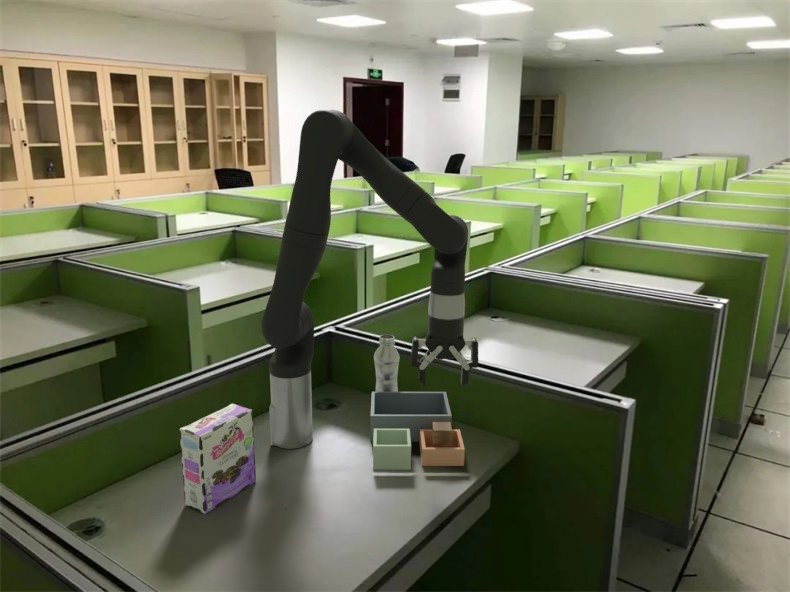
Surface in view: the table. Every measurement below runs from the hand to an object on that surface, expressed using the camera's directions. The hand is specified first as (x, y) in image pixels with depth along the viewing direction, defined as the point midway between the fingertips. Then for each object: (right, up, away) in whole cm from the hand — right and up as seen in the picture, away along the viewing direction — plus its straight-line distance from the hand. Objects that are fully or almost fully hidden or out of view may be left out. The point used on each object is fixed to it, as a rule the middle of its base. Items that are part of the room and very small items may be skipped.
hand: (443, 384), depth 134 cm
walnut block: (0, -16, +4) cm, 17 cm away
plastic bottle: (-13, -11, +27) cm, 32 cm away
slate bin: (-7, -13, +17) cm, 23 cm away
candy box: (-45, -20, -10) cm, 50 cm away
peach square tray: (0, -17, +4) cm, 17 cm away
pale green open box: (-11, -17, +2) cm, 21 cm away
